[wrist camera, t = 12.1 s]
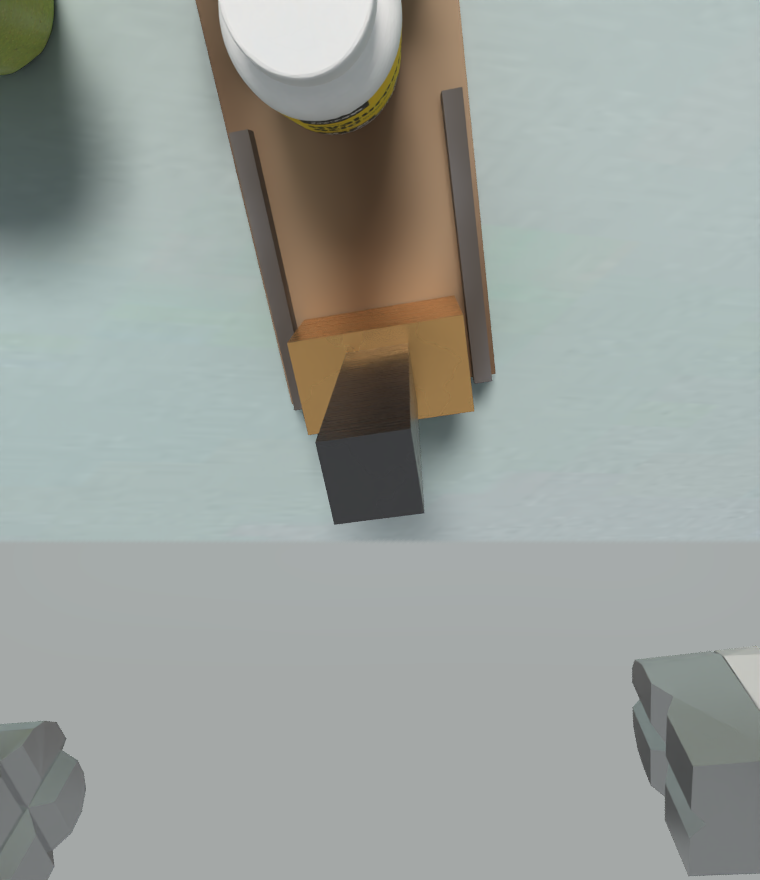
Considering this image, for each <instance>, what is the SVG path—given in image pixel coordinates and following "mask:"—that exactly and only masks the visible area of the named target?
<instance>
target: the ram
mask: <svg viewBox="0 0 760 880" xmlns="http://www.w3.org/2000/svg"><path fill="white" fill-rule="evenodd" d="M287 345H288V350H289V354H290V358H291V363H292V367H293V371H294V375H295V380H296V384H297V388H298V393H299V397H300V401H301V405H302V410H303V414H304V418H305V423H306V427H307V431H308V435H312V434H318V436H317V439H316V447H317V451H318V456H319V460H320V464H321V469H322V473H323V477H324V482H325V486H326V490H327V495H328V499H329V503H330V508H331V512H332V517H333V521H334V525H335V524H343V523H351V522H358V521H366V520H374V519H382V518H390V517H397V516H405V515H413V514H421V513H424V500H423V484H422V468H421V452H420V436H419V420H418V419H423V418H430V417H437V416H444V415H451V414H458V413H465V412H472V411H474V405H473V396H472V387H471V378H470V370H469V361H468V352H467V344H466V335H465V326H464V318H463V313H462V311H461V309H460V307H459V305H458V302H457V300H456V298H455V296H454V295H453V296H447V297H441V298H435V299H429V300H423V301H417V302H410V303H404V304H398V305H392V306H386V307H380V308H374V309H368V310H362V311H355V312H349V313H343V314H337V315H331V316H325V317H319V318H313V319H307V320H304V321H303V322H302V323H301V325H300V326H299V327H298V329H297V330H296V331H295V333H294V334H293V336H292V337H291V338H290V340H289V341H288V342H287Z"/></svg>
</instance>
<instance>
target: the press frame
mask: <svg viewBox="0 0 760 880" xmlns="http://www.w3.org/2000/svg"><path fill="white" fill-rule="evenodd" d="M196 4H197V9H198V13H199V17H200V21H201V25H202V30H203V34H204V38H205V42H206V46H207V50H208V55H209V59H210V63H211V67H212V71H213V75H214V80H215V84H216V88H217V92H218V96H219V101H220V105H221V109H222V113H223V117H224V121H225V126H226V130H227V134H228V138H229V142H230V147H231V151H232V155H233V159H234V163H235V167H236V172H237V176H238V180H239V184H240V188H241V192H242V197H243V201H244V205H245V209H246V213H247V218H248V222H249V226H250V230H251V234H252V238H253V243H254V247H255V251H256V255H257V259H258V264H259V268H260V272H261V276H262V280H263V284H264V289H265V293H266V297H267V301H268V305H269V310H270V314H271V318H272V322H273V326H274V330H275V335H276V339H277V343H278V347H279V351H280V355H281V360H282V364H283V368H284V372H285V376H286V381H287V385H288V389H289V393H290V397H291V401H292V404H293V405H294V410H300V409H302V405H301V401H300V397H299V393H298V388H297V384H296V380H295V375H294V371H293V367H292V363H291V358H290V354H289V350H288V345H287V342H288V341H289V340H290V338H291V337H292V336H293V334H294V333H295V331H296V330H297V329H298V327H299V326H300V325H301V323H302V322H303V321H304V320H307V319H313V318H319V317H325V316H331V315H337V314H343V313H349V312H355V311H362V310H368V309H374V308H380V307H386V306H392V305H398V304H404V303H410V302H417V301H423V300H429V299H435V298H441V297H447V296H453V295H454V296H455V298H456V300H457V302H458V305H459V307H460V309H461V311H462V313H463V318H464V326H465V335H466V344H467V352H468V361H469V370H470V377H473V380H474V383H482V382H489V381H492V376H491V374H495V364H494V353H493V343H492V333H491V323H490V313H489V302H488V292H487V282H486V272H485V261H484V251H483V241H482V231H481V221H480V210H479V200H478V190H477V180H476V169H475V159H474V149H473V139H472V129H471V118H470V108H469V98H468V88H467V78H466V67H465V57H464V47H463V37H462V26H461V16H460V6H459V0H401V4H402V41H401V62H400V69H399V75H398V79H397V82H396V86H395V88H394V91H393V93H392V95H391V97H390V99H389V101H388V103H387V104H386V106H385V107H384V108H383V110H382V111H381V112H380V113H379V114H378V115H377V116H376V117H375V118H374V119H373V120H372V121H371V122H369V123H368V124H367V125H365V126H363V127H362V128H360V129H357V130H355V131H352V132H349V133H345V134H337V135H329V134H322V133H317V132H313V131H310V130H308V129H306V128H304V127H302V126H300V125H299V124H297V123H295V122H294V121H292V120H290V119H289V118H287V117H285V116H284V115H282V114H280V113H279V112H277V111H276V110H274V109H272V108H271V107H269V106H268V105H267V104H266V103H264V102H263V101H262V100H261V99H260V98H259V97H258V96H257V95H256V94H255V93H254V92H253V91H252V90H251V89H250V88H249V87H248V85H247V84H246V83H245V82H244V81H243V79H242V78H241V76H240V75H239V73H238V72H237V70H236V68H235V67H234V65H233V63H232V61H231V59H230V56H229V54H228V52H227V49H226V46H225V43H224V40H223V36H222V32H221V27H220V21H219V8H218V0H196Z"/></svg>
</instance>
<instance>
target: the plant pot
mask: <svg viewBox="0 0 760 880" xmlns="http://www.w3.org/2000/svg"><path fill="white" fill-rule="evenodd" d="M53 17H54V0H0V75H7V74H11V73H14V72H16V71H18V70H19V69H21V68H22V67H24V66H25V65H26V64H28V63H29V62H30V61H31V60H33V59H34V58H35V57H36V56H37V55H39V54H40V53H41V52H42V50H43V49H44V47H45V45H46V43H47V41H48V39H49V36H50V33H51V29H52V24H53Z"/></svg>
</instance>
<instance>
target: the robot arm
mask: <svg viewBox="0 0 760 880" xmlns="http://www.w3.org/2000/svg"><path fill="white" fill-rule="evenodd" d="M632 683H633V685H634V687H635V689H636V692H637V694H638V696H639V698H640V700H639V701H638V702H637V703H636V704H635V706H634V707H633V725H634V726H633V727H634V732H635V737H636V742H637V748H638V751H639V755H640V758H641V761H642V764H643V767H644V770H645V772H646V775H647V777H648V780H649V782H650V784H651V786H652V787H654V788H655V789H656V790H657V791H659V792H660V793H661V794H662V795H664V796H665V821H666V824H667V826H668V828H669V831H670V833H671V836H672V838H673V840H674V842H675V845H676V847H677V850H678V852H679V855H680V857H681V859H682V862H683V864H684V866H685V869H686V871H687V874H688V876H705V875H731V874H756V873H757V874H758V873H760V648H758V647H757V646H752V647H743V648H734V649H725V650H717V651H714V652H711V651H709V652H699V653H691V654H681V655H673V656H664V657H655V658H646V659H637V660H635V661H634V664H633V668H632ZM65 741H66V737H65V736H64V734H63V732H62V730H61V729H60V727H59V725H58V724H57V722H50V721H38V722H25V723H12V724H0V880H47V879H48V878H49V876H50V874H51V872H52V870H53V868H54V859H53V849H54V848H56V847H57V846H58V845H59V844H60V843H61V842H62V841H63V840H64V839H65V838H66V837H68V835H70V834H71V832H72V831H73V828H74V826H75V825H76V822H77V820H78V818H79V816H80V814H81V812H82V807H83V802H84V797H85V791H86V786H85V779H84V773H83V770H82V769H81V766H80V764H79V762H78V760H76V759H75V758H73V757H72V756H70V755H69V754H67V753H65V752H64V751H62V749H63V746H64V743H65Z"/></svg>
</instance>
